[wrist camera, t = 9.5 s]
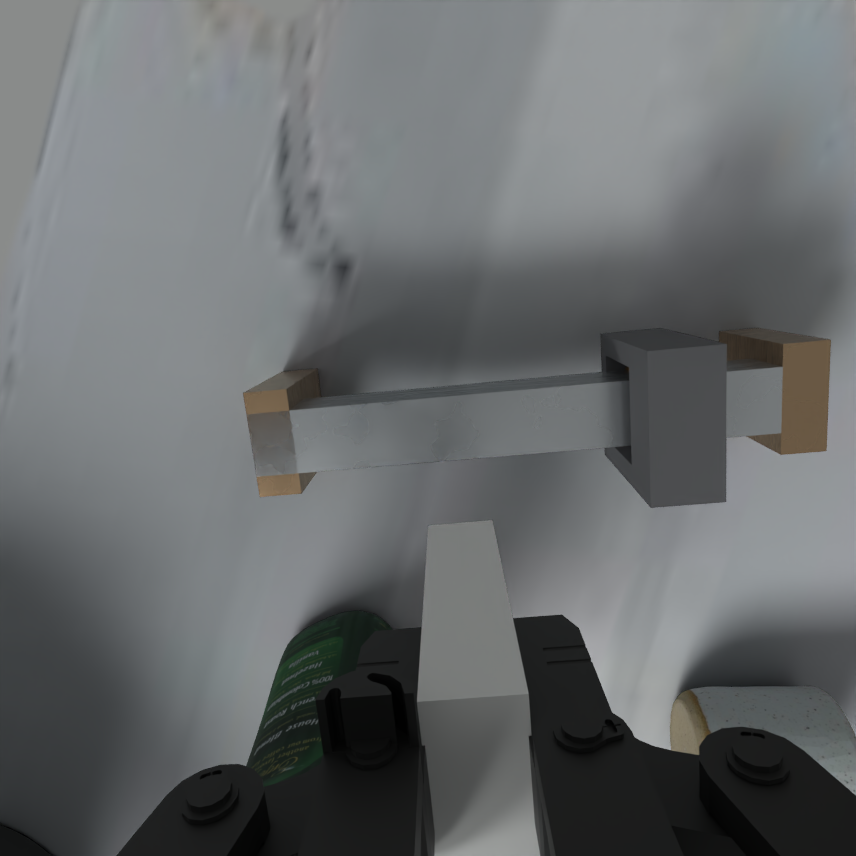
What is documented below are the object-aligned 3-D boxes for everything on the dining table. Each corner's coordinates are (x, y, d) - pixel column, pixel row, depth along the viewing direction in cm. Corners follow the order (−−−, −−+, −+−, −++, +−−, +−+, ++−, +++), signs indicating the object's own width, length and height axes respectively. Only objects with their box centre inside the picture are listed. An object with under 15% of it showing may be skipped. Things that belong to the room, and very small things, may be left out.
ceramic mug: (664, 661, 40) (713, 753, 32) (802, 658, 39) (884, 750, 32) (658, 806, 42) (702, 922, 35) (788, 804, 42) (860, 921, 34)
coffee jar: (265, 641, 40) (113, 935, 22) (376, 587, 39) (311, 851, 21) (342, 761, 42) (259, 1125, 24) (451, 713, 41) (450, 1057, 23)
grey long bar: (294, 457, 38) (259, 497, 31) (282, 371, 36) (242, 393, 30) (755, 418, 36) (827, 451, 29) (757, 327, 35) (832, 339, 28)
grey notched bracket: (605, 454, 35) (650, 507, 27) (600, 333, 33) (647, 351, 25) (662, 449, 34) (725, 501, 26) (660, 327, 33) (726, 343, 25)
